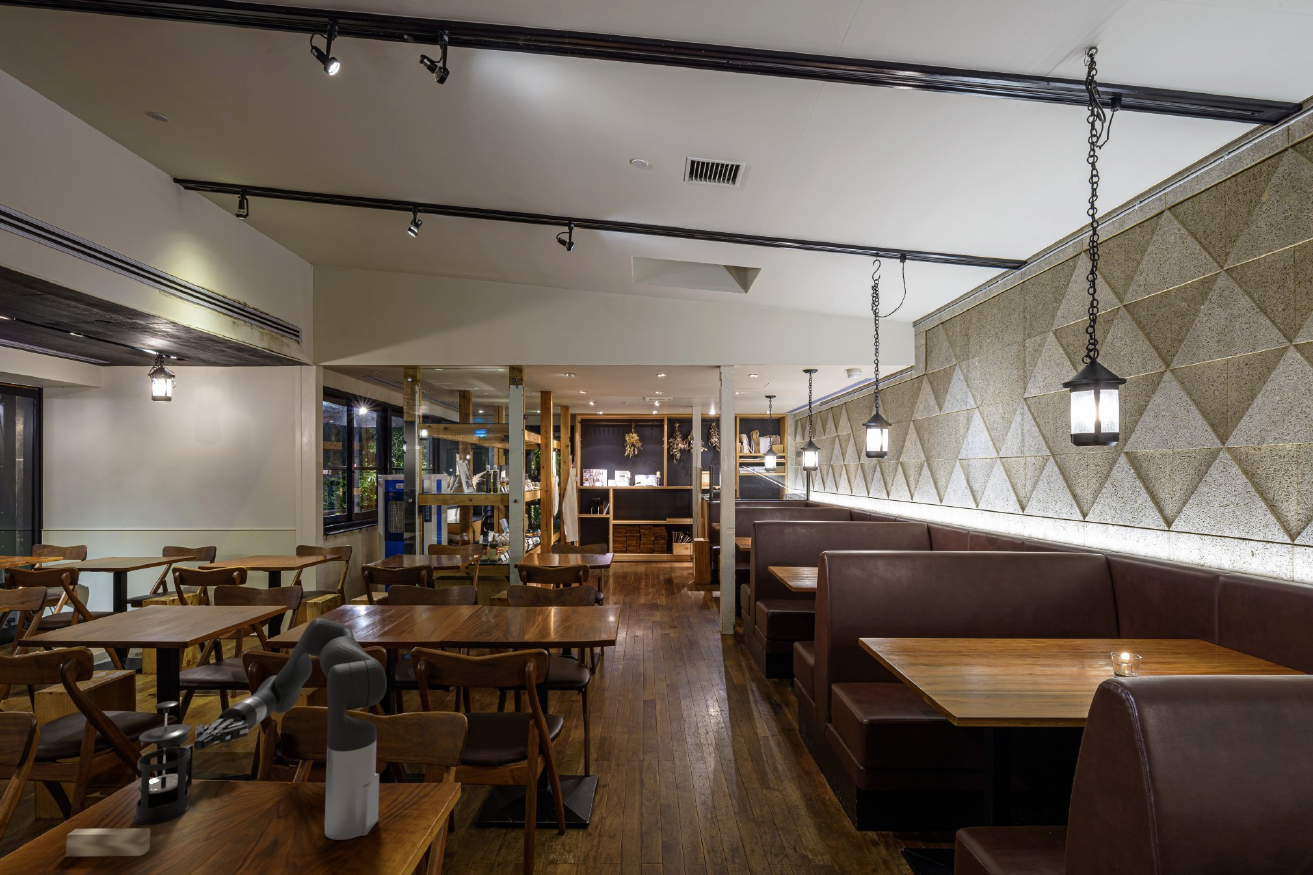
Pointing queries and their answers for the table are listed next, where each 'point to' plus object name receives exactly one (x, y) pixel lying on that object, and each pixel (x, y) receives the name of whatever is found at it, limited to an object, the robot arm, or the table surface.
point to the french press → (165, 786)
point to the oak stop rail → (108, 842)
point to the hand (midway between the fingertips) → (197, 745)
